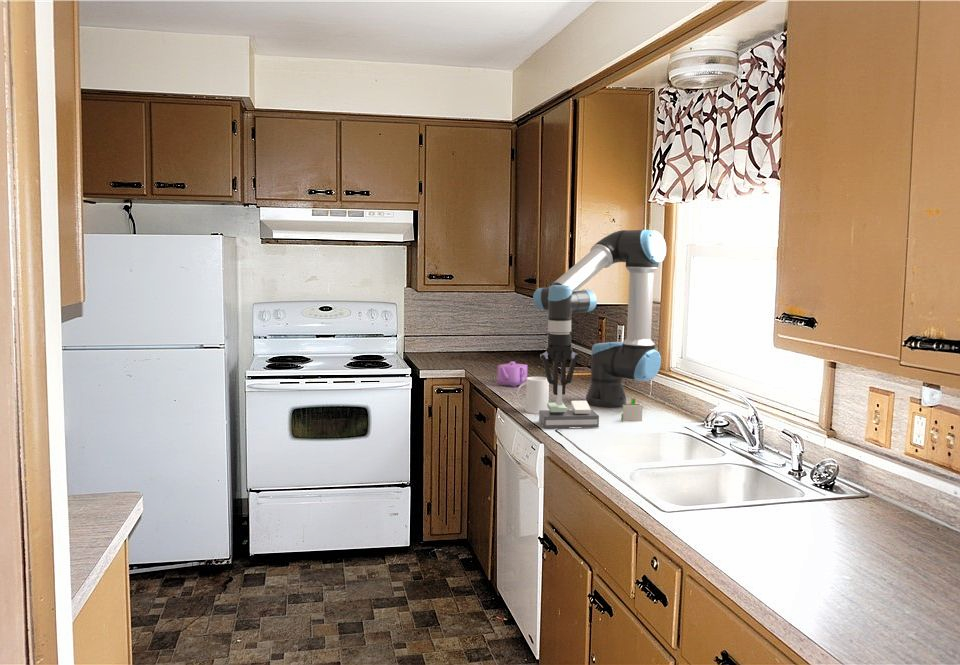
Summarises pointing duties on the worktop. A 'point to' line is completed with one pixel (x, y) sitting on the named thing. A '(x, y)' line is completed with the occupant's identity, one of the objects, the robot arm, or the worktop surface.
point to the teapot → (512, 374)
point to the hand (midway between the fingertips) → (559, 404)
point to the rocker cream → (580, 407)
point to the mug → (535, 394)
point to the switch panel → (567, 419)
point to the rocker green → (556, 407)
